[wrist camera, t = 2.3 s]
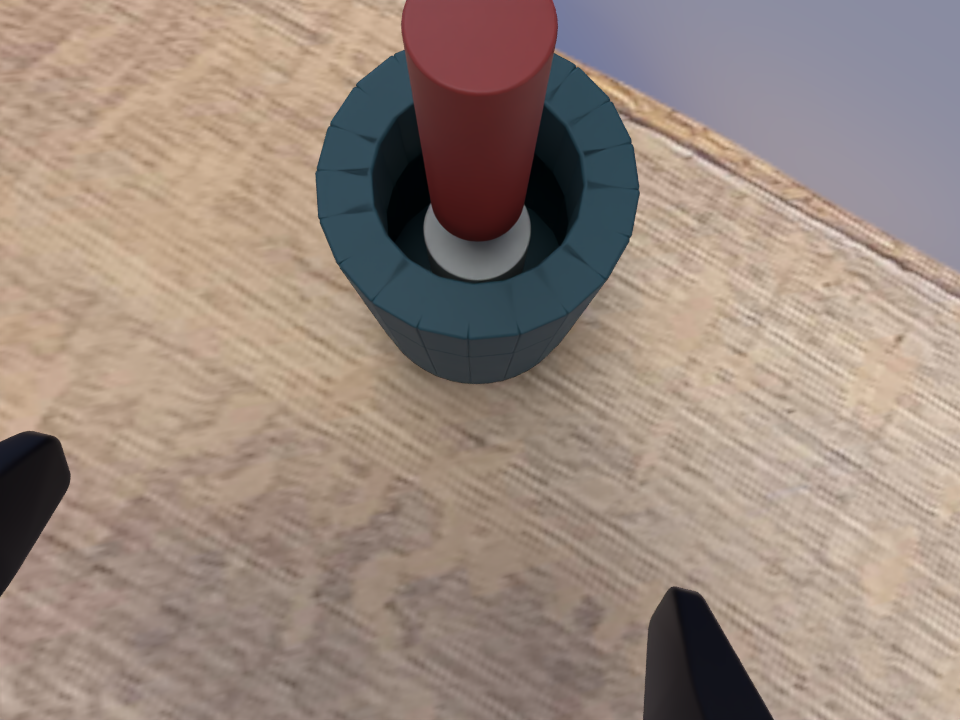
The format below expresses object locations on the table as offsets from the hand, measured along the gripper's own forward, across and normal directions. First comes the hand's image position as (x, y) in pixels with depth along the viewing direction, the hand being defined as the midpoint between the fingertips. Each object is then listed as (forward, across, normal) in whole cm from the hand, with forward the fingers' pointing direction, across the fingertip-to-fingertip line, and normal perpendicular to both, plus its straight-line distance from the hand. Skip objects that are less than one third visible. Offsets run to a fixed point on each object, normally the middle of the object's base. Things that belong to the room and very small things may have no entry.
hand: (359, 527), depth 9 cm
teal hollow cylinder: (+15, 0, +4) cm, 15 cm away
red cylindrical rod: (+14, 0, +3) cm, 14 cm away
